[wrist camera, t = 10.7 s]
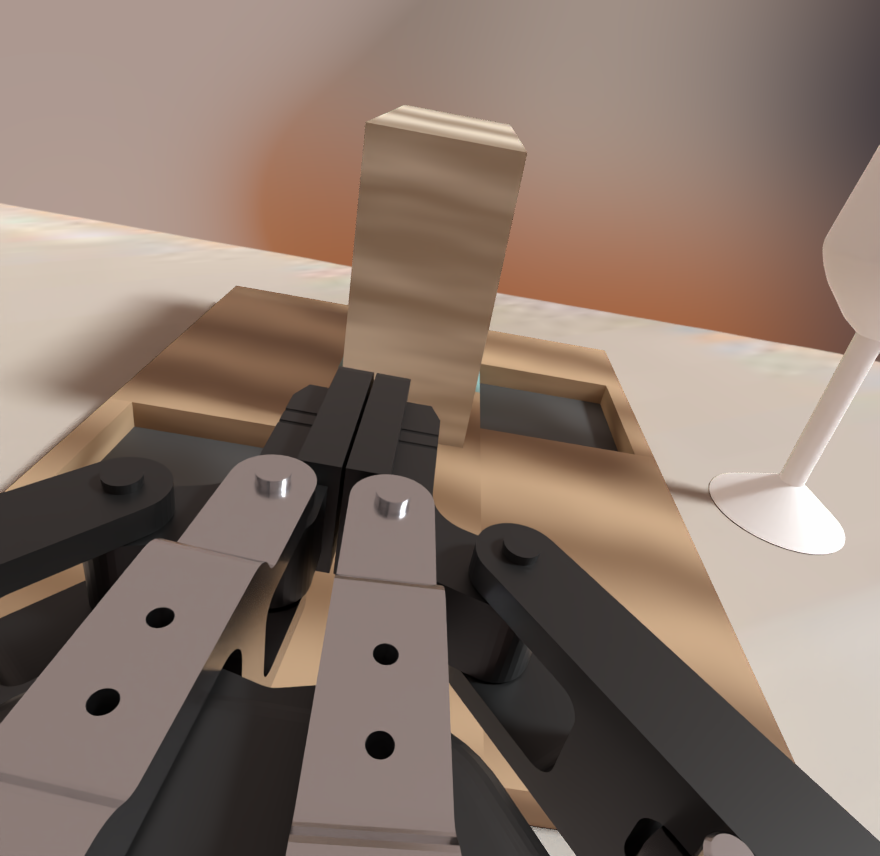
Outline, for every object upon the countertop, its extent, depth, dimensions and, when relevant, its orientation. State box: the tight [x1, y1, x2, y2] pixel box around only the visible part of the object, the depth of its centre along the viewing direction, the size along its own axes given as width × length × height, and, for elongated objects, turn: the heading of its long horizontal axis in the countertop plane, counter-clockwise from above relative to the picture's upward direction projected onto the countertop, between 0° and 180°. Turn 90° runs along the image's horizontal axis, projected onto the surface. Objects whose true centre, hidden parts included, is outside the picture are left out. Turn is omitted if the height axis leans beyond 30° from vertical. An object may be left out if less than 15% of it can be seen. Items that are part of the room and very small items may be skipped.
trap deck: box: [0, 286, 795, 829], centre depth 30 cm, size 32×26×2 cm
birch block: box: [343, 105, 527, 448], centre depth 32 cm, size 14×6×13 cm, turn 177°
